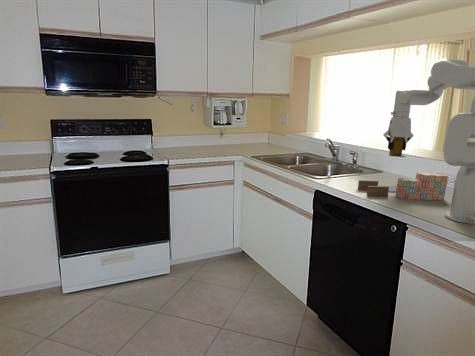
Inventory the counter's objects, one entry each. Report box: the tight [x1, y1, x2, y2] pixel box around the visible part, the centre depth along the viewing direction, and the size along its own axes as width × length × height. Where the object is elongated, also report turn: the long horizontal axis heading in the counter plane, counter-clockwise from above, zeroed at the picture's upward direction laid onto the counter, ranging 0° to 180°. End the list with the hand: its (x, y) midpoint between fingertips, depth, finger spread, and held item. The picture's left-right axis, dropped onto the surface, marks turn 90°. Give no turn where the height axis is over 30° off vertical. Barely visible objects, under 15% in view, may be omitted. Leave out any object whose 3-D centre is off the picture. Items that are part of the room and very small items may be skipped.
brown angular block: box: [357, 179, 389, 198], centre depth 180 cm, size 13×10×5 cm
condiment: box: [387, 137, 407, 158], centre depth 184 cm, size 7×8×12 cm
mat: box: [387, 185, 397, 193], centre depth 189 cm, size 12×12×1 cm
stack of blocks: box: [395, 172, 449, 201], centre depth 173 cm, size 21×6×12 cm, turn 93°
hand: (396, 149), depth 184 cm, fingers closed on condiment, 6 cm apart
